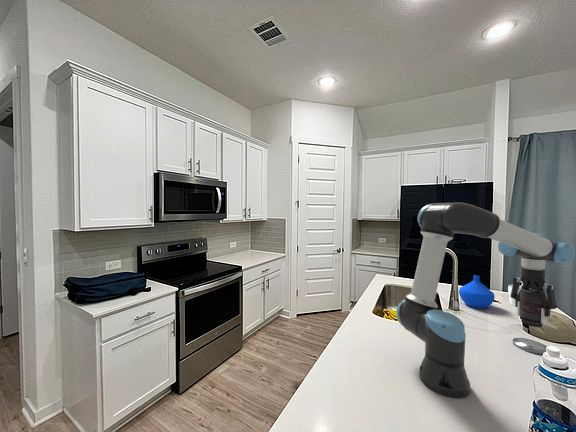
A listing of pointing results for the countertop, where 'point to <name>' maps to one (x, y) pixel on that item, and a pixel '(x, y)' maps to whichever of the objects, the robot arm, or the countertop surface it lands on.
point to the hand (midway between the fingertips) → (531, 318)
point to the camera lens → (531, 307)
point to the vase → (476, 294)
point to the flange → (529, 345)
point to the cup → (512, 300)
